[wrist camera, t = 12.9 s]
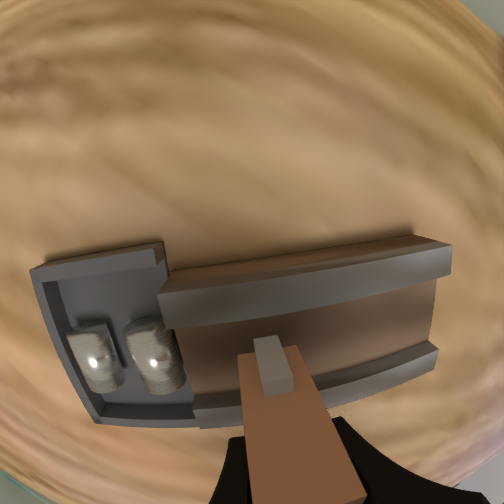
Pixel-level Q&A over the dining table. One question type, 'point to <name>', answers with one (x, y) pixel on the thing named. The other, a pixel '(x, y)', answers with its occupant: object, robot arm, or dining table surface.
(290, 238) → the dining table surface
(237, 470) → the robot arm
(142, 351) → the chip
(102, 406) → the tray
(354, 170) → the dining table surface
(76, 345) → the chip
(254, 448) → the brown block with knob
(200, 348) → the slot board
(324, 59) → the dining table surface
